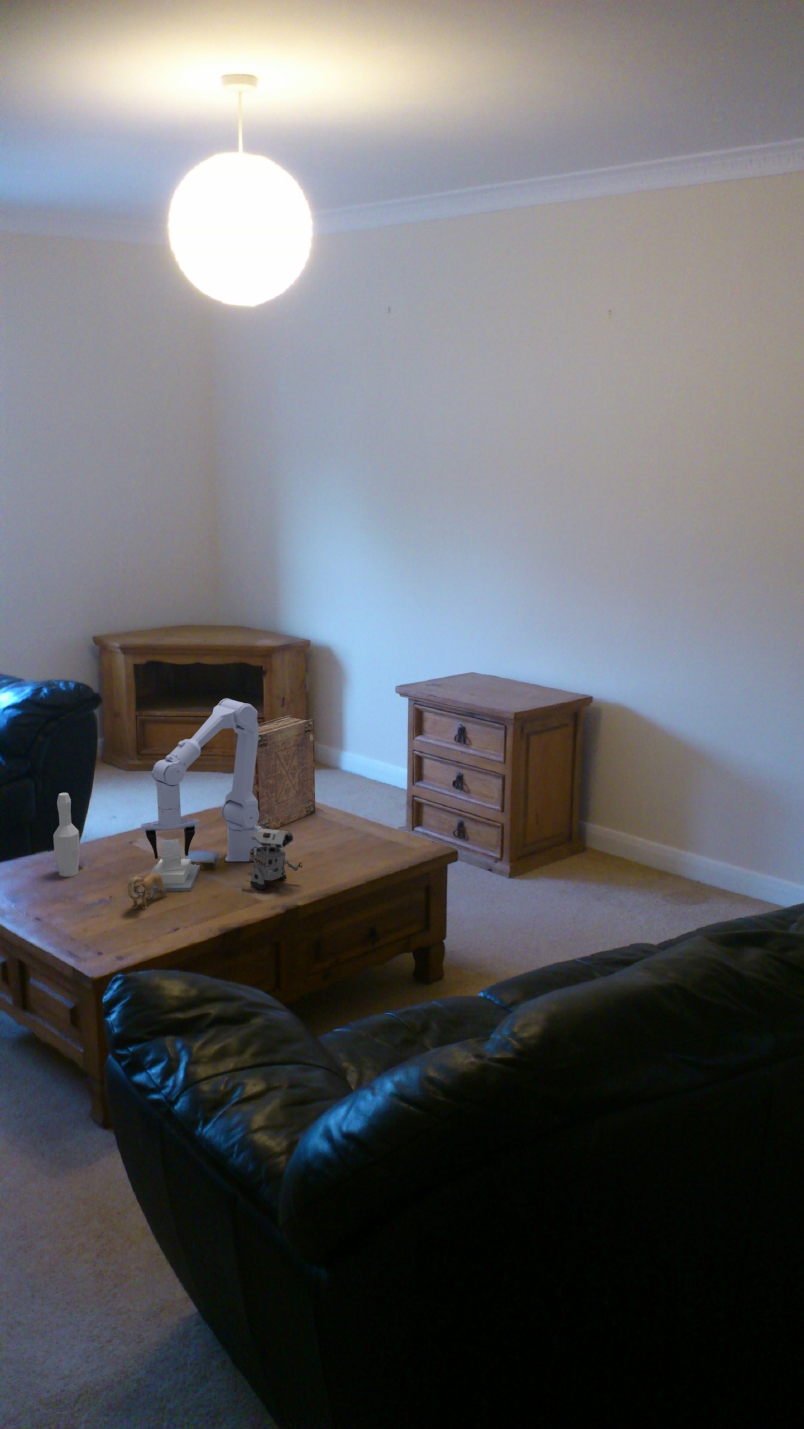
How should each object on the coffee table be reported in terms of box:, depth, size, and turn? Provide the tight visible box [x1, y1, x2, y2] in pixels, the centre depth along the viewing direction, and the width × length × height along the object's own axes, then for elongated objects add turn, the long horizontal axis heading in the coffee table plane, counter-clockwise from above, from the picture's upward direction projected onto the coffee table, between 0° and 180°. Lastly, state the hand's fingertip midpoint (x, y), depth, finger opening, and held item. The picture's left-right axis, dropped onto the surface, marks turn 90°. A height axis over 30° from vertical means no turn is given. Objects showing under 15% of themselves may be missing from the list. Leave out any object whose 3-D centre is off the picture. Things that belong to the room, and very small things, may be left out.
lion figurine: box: [126, 873, 168, 910], centre depth 270 cm, size 15×5×9 cm, turn 164°
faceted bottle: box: [52, 792, 81, 878], centre depth 287 cm, size 6×6×22 cm
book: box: [233, 714, 316, 830], centre depth 327 cm, size 25×9×30 cm, turn 145°
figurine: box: [248, 828, 303, 890], centre depth 281 cm, size 9×12×15 cm
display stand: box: [149, 858, 201, 892], centre depth 285 cm, size 12×16×4 cm
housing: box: [160, 838, 182, 872], centre depth 285 cm, size 4×7×6 cm, turn 16°
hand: (171, 856), depth 284 cm, fingers open, 7 cm apart
